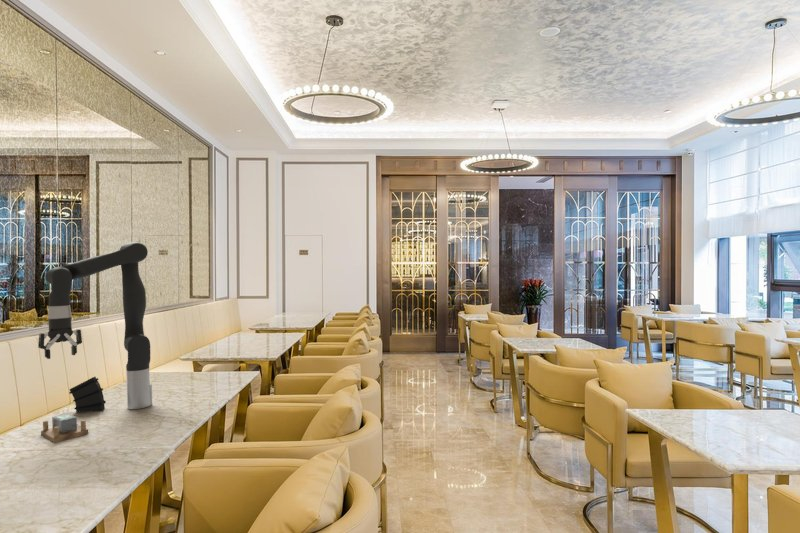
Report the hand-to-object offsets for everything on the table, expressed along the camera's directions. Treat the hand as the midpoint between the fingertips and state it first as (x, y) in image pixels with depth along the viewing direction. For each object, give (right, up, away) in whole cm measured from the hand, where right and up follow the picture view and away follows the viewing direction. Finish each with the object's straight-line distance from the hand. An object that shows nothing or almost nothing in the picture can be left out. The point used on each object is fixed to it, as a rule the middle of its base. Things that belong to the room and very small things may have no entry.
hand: (61, 356), depth 190 cm
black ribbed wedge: (-3, -29, +21) cm, 35 cm away
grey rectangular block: (+8, -26, -10) cm, 29 cm away
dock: (+9, -28, -10) cm, 31 cm away
